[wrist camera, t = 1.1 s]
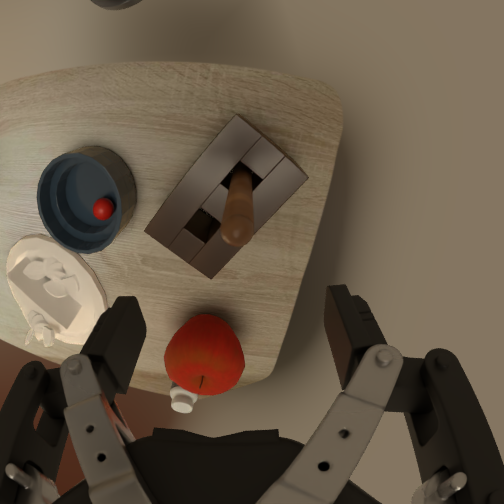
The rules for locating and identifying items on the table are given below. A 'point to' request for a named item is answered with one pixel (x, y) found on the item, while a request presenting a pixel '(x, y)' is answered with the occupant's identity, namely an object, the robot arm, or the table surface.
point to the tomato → (103, 209)
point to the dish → (54, 290)
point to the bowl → (85, 198)
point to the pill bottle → (182, 399)
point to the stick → (238, 208)
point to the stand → (223, 195)
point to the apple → (204, 356)
